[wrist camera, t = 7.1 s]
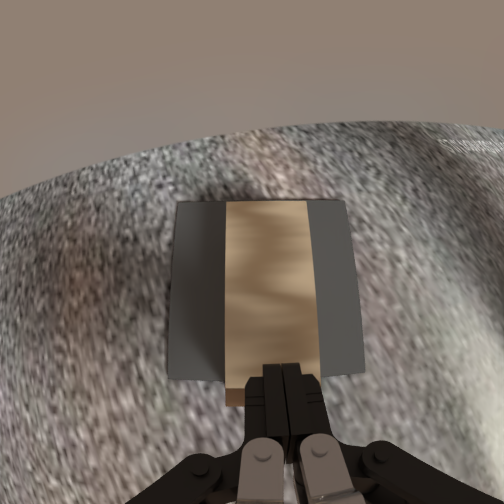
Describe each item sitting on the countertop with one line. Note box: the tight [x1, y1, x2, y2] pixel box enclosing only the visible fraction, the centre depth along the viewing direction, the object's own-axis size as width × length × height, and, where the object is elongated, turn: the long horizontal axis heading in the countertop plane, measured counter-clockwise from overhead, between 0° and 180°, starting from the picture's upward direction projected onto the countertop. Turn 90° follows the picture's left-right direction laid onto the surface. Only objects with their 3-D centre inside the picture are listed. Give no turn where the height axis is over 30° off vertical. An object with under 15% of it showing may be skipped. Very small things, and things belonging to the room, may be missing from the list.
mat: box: [168, 200, 365, 381], centre depth 22 cm, size 14×14×1 cm
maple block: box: [225, 201, 321, 406], centre depth 19 cm, size 5×5×12 cm
